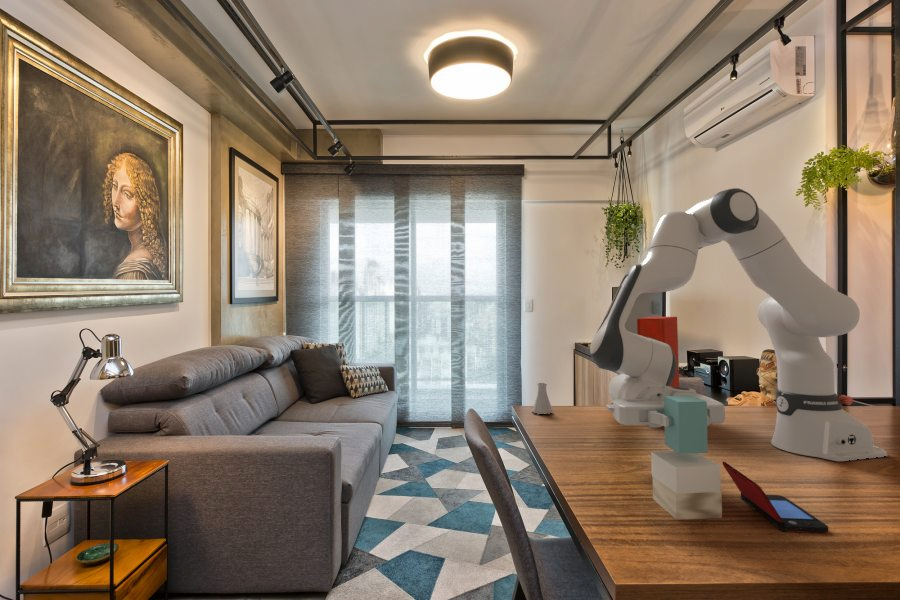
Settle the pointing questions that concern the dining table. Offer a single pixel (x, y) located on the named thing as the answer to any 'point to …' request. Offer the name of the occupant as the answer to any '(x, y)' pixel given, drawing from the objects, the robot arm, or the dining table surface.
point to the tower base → (688, 503)
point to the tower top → (686, 472)
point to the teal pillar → (686, 424)
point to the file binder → (661, 335)
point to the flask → (542, 400)
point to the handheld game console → (775, 506)
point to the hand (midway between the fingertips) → (688, 421)
